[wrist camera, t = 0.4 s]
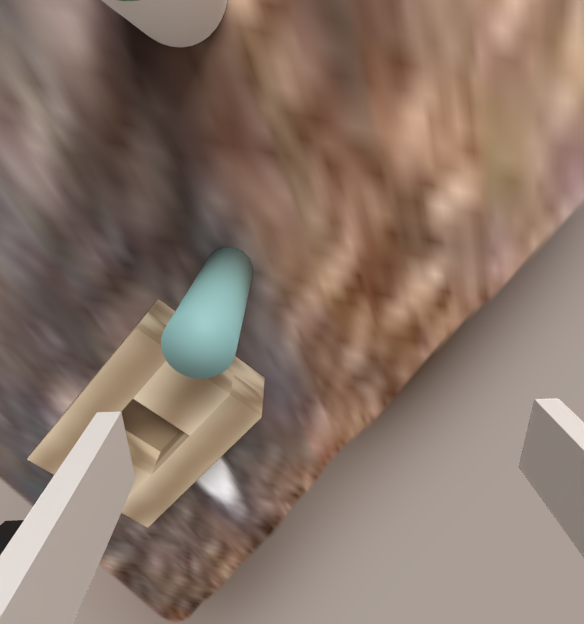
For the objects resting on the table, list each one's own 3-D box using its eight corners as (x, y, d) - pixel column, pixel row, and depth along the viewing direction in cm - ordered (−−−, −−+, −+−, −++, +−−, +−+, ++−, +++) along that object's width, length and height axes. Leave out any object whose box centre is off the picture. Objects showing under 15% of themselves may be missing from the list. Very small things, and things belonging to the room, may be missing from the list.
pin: (195, 272, 36) (145, 349, 23) (225, 237, 34) (191, 296, 22) (232, 301, 37) (205, 391, 24) (262, 268, 36) (251, 343, 23)
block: (61, 415, 41) (26, 459, 35) (158, 298, 36) (135, 327, 31) (164, 478, 44) (147, 527, 38) (264, 377, 40) (261, 417, 34)
